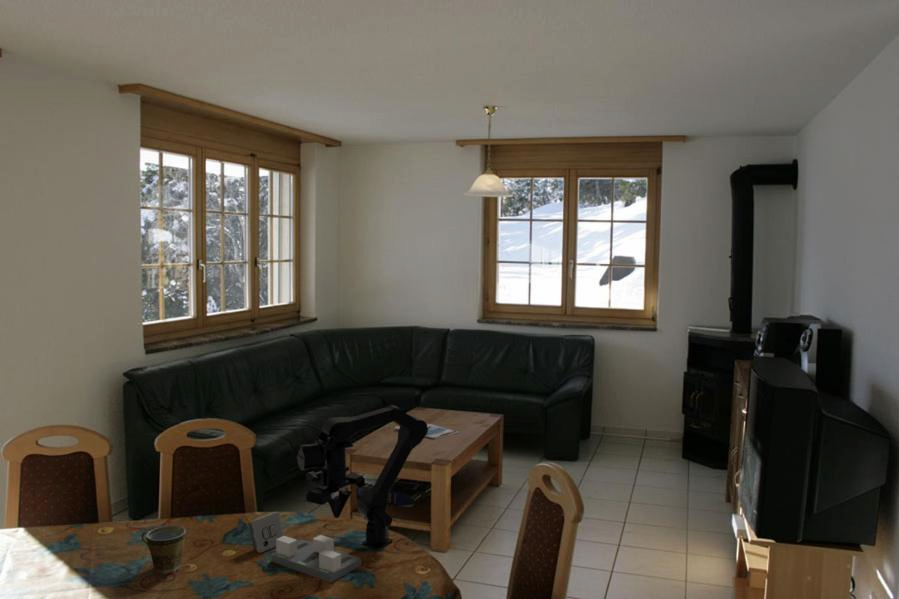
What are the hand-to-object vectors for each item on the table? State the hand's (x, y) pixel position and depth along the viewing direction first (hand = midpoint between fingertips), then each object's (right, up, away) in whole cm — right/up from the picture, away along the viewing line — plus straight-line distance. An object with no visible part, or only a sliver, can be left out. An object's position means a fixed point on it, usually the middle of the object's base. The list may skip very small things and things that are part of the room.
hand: (336, 517), depth 215 cm
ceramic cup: (-46, -11, -9) cm, 48 cm away
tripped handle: (-3, -8, -4) cm, 10 cm away
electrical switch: (-21, -10, +5) cm, 24 cm away
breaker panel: (-5, -11, -6) cm, 13 cm away
